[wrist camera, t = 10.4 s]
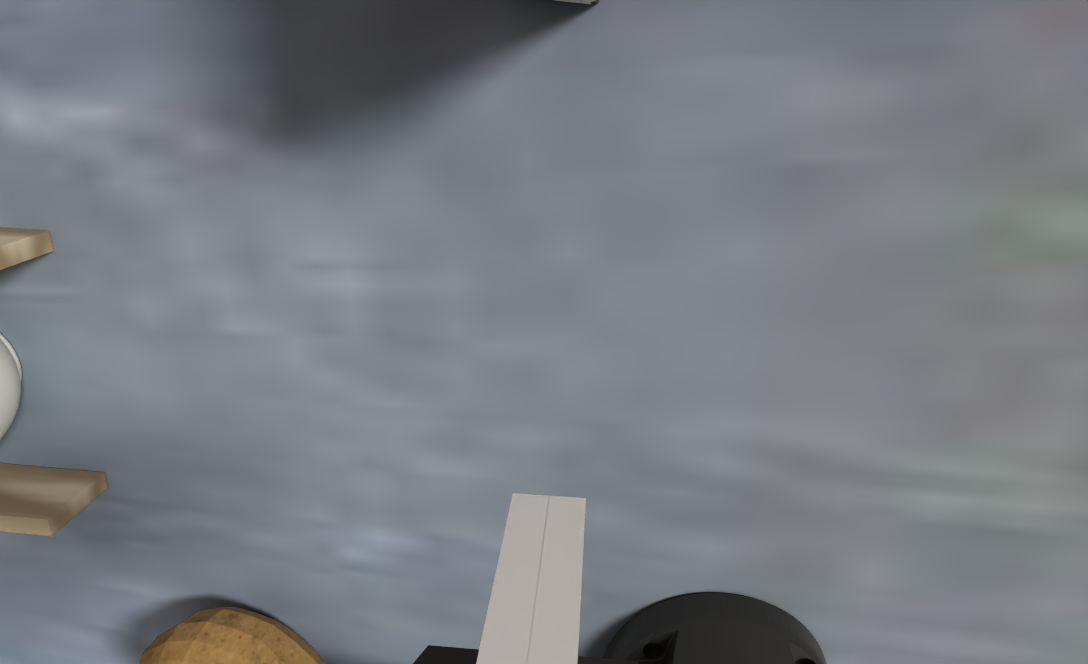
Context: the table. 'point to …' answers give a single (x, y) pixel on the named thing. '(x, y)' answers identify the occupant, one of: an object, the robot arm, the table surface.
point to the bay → (33, 491)
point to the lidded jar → (9, 384)
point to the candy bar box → (582, 1)
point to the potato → (229, 641)
